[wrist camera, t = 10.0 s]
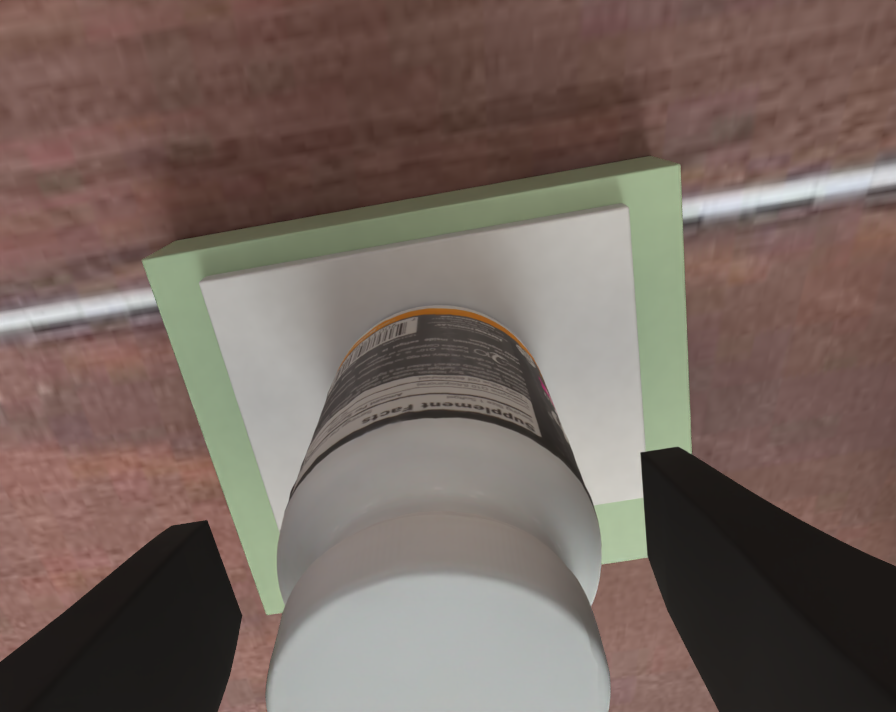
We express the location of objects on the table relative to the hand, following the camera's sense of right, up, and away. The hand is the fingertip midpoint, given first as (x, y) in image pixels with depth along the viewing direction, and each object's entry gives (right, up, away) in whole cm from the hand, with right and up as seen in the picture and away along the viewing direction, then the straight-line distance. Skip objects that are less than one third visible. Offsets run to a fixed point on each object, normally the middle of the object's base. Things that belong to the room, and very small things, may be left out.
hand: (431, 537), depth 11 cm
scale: (0, +2, +10) cm, 10 cm away
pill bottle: (0, +2, +7) cm, 8 cm away
